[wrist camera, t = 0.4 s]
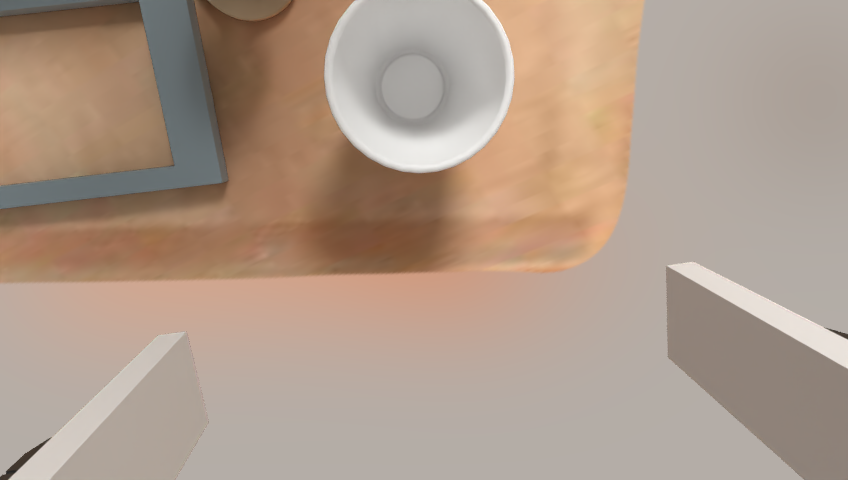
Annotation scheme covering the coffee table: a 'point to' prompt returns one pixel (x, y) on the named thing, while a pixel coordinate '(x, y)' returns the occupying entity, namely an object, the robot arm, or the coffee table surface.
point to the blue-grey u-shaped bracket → (180, 99)
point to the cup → (419, 80)
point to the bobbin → (251, 8)
